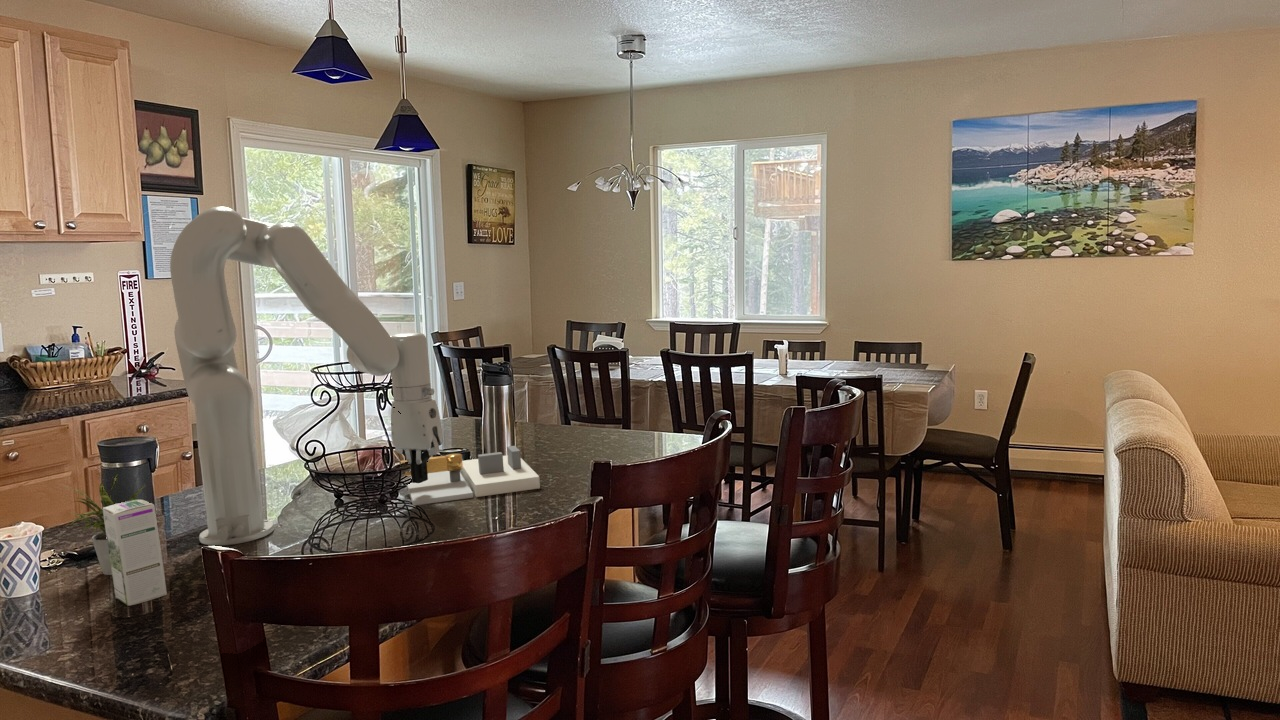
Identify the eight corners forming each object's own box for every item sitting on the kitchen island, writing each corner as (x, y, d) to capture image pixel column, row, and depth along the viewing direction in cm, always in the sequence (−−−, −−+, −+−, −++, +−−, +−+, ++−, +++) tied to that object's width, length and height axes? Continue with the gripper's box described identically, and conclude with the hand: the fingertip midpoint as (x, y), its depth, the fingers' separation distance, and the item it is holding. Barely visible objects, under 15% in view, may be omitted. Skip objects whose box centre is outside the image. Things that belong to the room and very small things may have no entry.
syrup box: (168, 594, 135) (157, 502, 133) (126, 607, 131) (114, 512, 129) (154, 586, 139) (143, 497, 137) (112, 599, 134) (100, 506, 133)
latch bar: (461, 466, 194) (460, 452, 193) (464, 469, 190) (462, 456, 190) (401, 473, 190) (400, 460, 189) (402, 477, 186) (401, 463, 186)
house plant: (56, 571, 149) (43, 476, 147) (146, 549, 158) (135, 459, 156) (78, 591, 138) (65, 489, 137) (173, 565, 148) (161, 470, 146)
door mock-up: (540, 488, 186) (538, 458, 185) (413, 505, 177) (410, 474, 177) (517, 464, 208) (515, 437, 207) (404, 478, 200) (401, 450, 199)
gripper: (453, 391, 180) (460, 479, 182) (396, 389, 186) (404, 474, 189) (429, 397, 173) (437, 488, 175) (371, 395, 180) (379, 483, 182)
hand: (419, 481), depth 182 cm, fingers closed
